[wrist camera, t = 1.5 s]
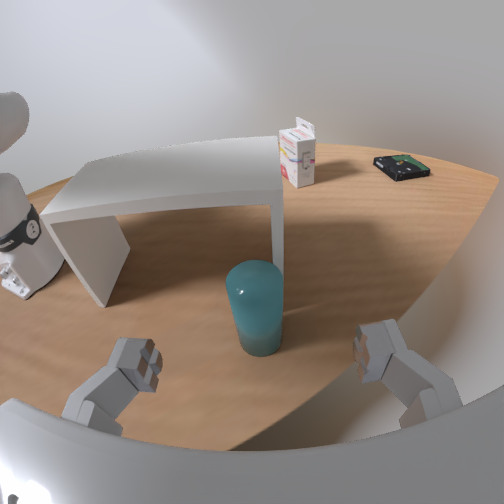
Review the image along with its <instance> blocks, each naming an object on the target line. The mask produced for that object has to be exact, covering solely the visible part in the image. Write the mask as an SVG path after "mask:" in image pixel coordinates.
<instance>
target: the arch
mask: <svg viewBox="0 0 504 504" xmlns="http://www.w3.org/2000/svg"><path fill="white" fill-rule="evenodd" d="M264 204H270V207H271V229H272V254H273V264H274V265H275V266H276V267H277V268H278V269H279V270H280V271H281V273H282V276H283V274H284V217H283V183H282V174H281V165H280V157H279V148H278V140H277V136H262V137H245V138H231V139H220V140H210V141H201V142H193V143H185V144H178V145H171V146H165V147H158V148H153V149H147V150H142V151H136V152H131V153H126V154H122V155H117V156H112V157H108V158H104V159H99V160H95V161H91V162H88V163H87V164H86V165H85V166H84V167H83V168H82V169H81V170H80V171H79V172H78V173H77V174H76V175H75V176H74V177H73V178H72V179H71V180H70V181H69V182H68V183H67V184H66V185H65V186H64V187H63V188H62V189H61V190H60V192H59V193H58V194H57V195H56V196H55V197H54V198H53V199H52V201H51V202H50V203H49V204H48V205H47V206H46V208H45V209H44V210H43V211H42V212H41V214H40V215H39V216H40V218H41V219H42V221H43V223H44V225H45V227H46V228H47V230H48V232H49V233H50V235H51V237H52V239H53V240H54V242H55V243H56V245H57V247H58V248H59V250H60V252H61V253H62V255H63V256H64V258H65V259H66V261H67V262H68V264H69V265H70V267H71V268H72V270H73V271H74V273H75V274H76V276H77V277H78V278H79V280H80V281H81V283H82V284H83V285H84V287H85V288H86V290H87V291H88V292H89V294H90V295H91V296H92V298H93V299H94V300H95V301H96V303H97V304H98V305H99V307H103V308H105V307H106V305H107V302H108V300H109V297H110V295H111V292H112V290H113V288H114V285H115V283H116V280H117V278H118V276H119V274H120V271H121V269H122V267H123V265H124V262H125V260H126V258H127V256H128V254H129V252H130V247H129V245H128V243H127V241H126V239H125V237H124V234H123V232H122V230H121V228H120V226H119V224H118V221H117V219H116V217H115V215H124V214H133V213H143V212H154V211H166V210H178V209H191V208H206V207H222V206H241V205H264Z"/></svg>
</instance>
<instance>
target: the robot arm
mask: <svg viewBox="0 0 504 504" xmlns="http://www.w3.org/2000/svg"><path fill="white" fill-rule="evenodd" d="M28 122H29V108H28V105H27V102H26V101H25V99H24V98H23V97H22V96H21V95H20V94H18V93H15V92H7V93H0V154H1V153H2V152H4V151H6V150H7V149H8V148H9V147H11V146H12V145H13V144H14V143H15V142H16V141H17V140H18V139H19V138H20V137H21V136H22V135H23V134H24V133H25V132H26V129H27V126H28ZM63 261H64V256H63V255H62V253H61V252H60V250H59V248H58V247H57V245H56V243H55V242H54V240H53V239H52V237H51V235H50V233H49V232H48V230H47V228H46V227H45V225H44V223H43V221H42V219H39V215H38V214H37V211H36V209H35V208H34V206H33V205H32V204H30V203H29V201H28V199H27V197H26V195H25V193H24V191H23V188H22V186H21V184H20V182H19V180H18V179H17V178H16V177H15V176H14V175H12V174H10V173H1V174H0V270H1V272H0V276H1V277H2V278H3V280H2V286H3V287H4V288H5V289H7V290H8V291H10V292H12V293H13V294H15V295H17V296H19V297H20V298H22V299H24V300H26V299H27V298H29V297H30V296H31V295H32V294H33V293H34V292H35V291H36V290H38V289H40V288H41V287H43V286H44V285H46V284H47V283H48V282H49V281H50V280H51V279H52V278H53V277H54V276H55V275H56V273H57V272H58V271H59V269H60V267H61V266H62V264H63ZM356 334H357V336H356V337H355V338H354V342H353V353H354V358H355V361H356V362H358V363H359V367H358V373H359V377H360V381H361V383H367V382H372V381H377V380H381V382H382V383H384V385H385V386H386V387H387V388H389V390H390V391H391V392H393V394H394V395H395V396H396V397H398V399H399V400H401V402H403V404H404V405H406V407H407V408H408V409H407V410H406V411H405V413H404V414H403V415H402V416H401V418H400V419H399V422H400V426H401V429H400V430H397V431H393V432H390V433H386V434H383V435H378V436H374V437H370V438H366V439H361V440H356V441H352V442H346V443H340V444H334V445H328V446H321V447H313V448H304V449H294V450H280V451H252V452H251V451H248V452H247V451H241V452H240V451H215V450H201V449H191V448H182V447H174V446H167V445H161V444H155V443H149V442H144V441H139V440H134V439H129V438H125V437H121V434H122V430H123V428H122V426H121V425H120V424H119V423H117V422H116V421H115V419H116V418H117V417H118V415H119V414H120V413H121V412H122V411H123V410H124V409H125V407H126V406H127V405H128V404H129V403H130V402H131V401H132V399H133V398H134V397H135V396H136V395H137V394H138V393H139V392H138V391H141V392H153V393H155V392H156V389H157V385H158V381H159V379H158V377H157V375H158V374H159V373H160V372H161V370H162V366H163V359H162V356H161V353H160V352H159V351H158V350H157V349H155V348H154V346H155V343H154V342H153V340H152V339H139V338H122V337H120V338H119V339H118V340H117V342H116V344H115V347H114V349H113V351H112V354H111V356H110V358H109V361H108V363H107V366H106V367H105V366H103V367H102V368H101V369H100V370H99V371H97V372H96V373H95V374H94V375H93V376H91V377H90V378H89V379H88V380H87V381H86V382H84V383H83V384H82V385H81V386H80V387H78V388H77V389H76V390H75V391H74V392H72V393H71V394H70V396H69V398H68V400H67V403H66V406H65V408H64V411H63V413H62V416H61V418H60V417H57V416H55V415H52V414H50V413H47V412H45V411H43V410H40V409H38V408H36V407H34V406H31V405H29V404H27V403H25V402H23V401H21V400H19V399H17V398H11V399H9V400H8V401H6V402H5V403H3V404H2V405H1V406H0V504H504V385H503V386H501V387H499V388H498V389H496V390H494V391H492V392H490V393H488V394H486V395H485V396H483V397H481V398H479V399H477V400H475V401H473V402H471V403H468V404H467V405H464V406H463V405H462V402H461V399H460V397H459V394H458V391H457V389H456V386H455V384H454V381H453V379H452V378H450V377H449V376H448V375H446V374H445V373H444V372H442V371H441V370H439V369H438V368H437V367H435V366H434V365H432V364H431V363H430V362H428V361H427V360H426V359H424V358H423V357H421V356H420V355H419V354H417V353H416V352H414V351H413V350H408V348H407V346H406V343H405V341H404V338H403V336H402V334H401V332H400V329H399V327H398V325H397V323H396V321H395V320H394V319H389V320H383V321H376V322H371V323H365V324H360V325H357V327H356Z"/></svg>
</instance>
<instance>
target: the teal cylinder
mask: <svg viewBox="0 0 504 504" xmlns="http://www.w3.org/2000/svg"><path fill="white" fill-rule="evenodd" d="M226 289H227V293H228V297H229V301H230V305H231V309H232V313H233V317H234V321H235V325H236V328H237V332H238V336H239V340H240V344H241V346H242V348H243V349H244V350H245V351H246V352H247V353H248V354H250V355H253V356H257V357H264V356H268V355H270V354H272V353H274V352H275V351H276V350H277V349H278V348H279V347H280V345H281V342H282V324H283V276H282V273H281V271H280V270H279V269H278V268H277V267H276V266H275V265H274V264H272V263H270V262H267V261H264V260H248V261H245V262H242V263H240V264H238V265H236V266H235V267H234V268H233V269H232V270H231V271H230V272H229V274H228V275H227V278H226Z"/></svg>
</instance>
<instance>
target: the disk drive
mask: <svg viewBox="0 0 504 504" xmlns="http://www.w3.org/2000/svg"><path fill="white" fill-rule="evenodd" d="M373 165H375V166H376V167H377V168H379V169H380V170H381V171H383V172H384V173H385V174H386V175H388V176H389V177H390V178H392V179H393V180H394V181H403V180H408V179H414V178H420V177H426V176H429V174H430V169H429V168H428V167H426V166H425V165H423V164H422V163H421V162H419V161H417V160H415V159H414V158H412V157H411V156H410V155H395V156H384V157H376V158H374V162H373Z"/></svg>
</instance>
